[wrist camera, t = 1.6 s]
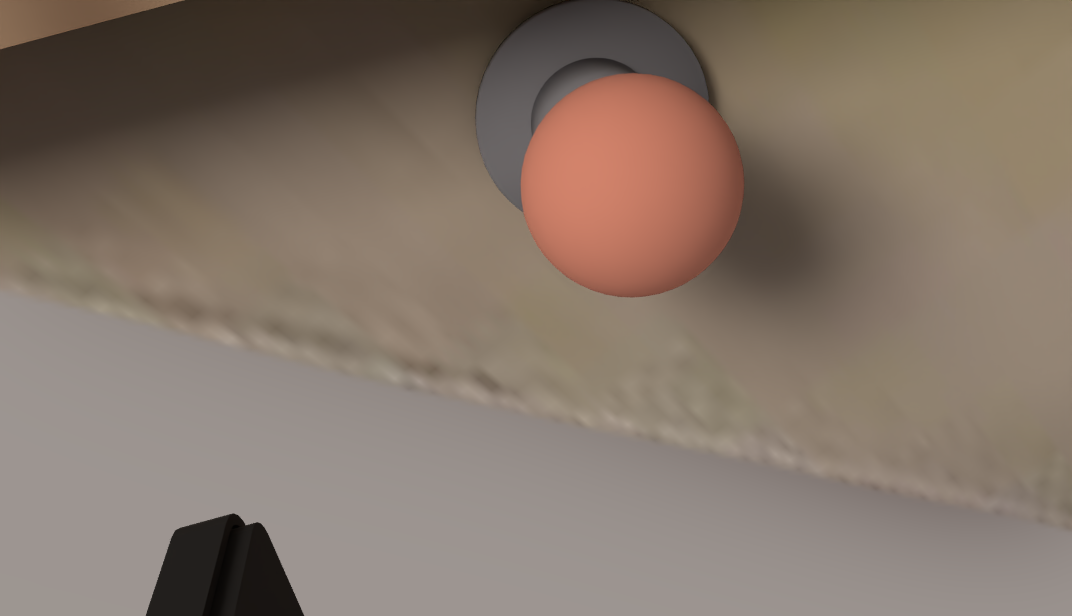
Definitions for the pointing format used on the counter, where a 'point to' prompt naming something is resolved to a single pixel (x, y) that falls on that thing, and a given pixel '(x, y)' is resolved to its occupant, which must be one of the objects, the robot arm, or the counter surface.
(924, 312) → the counter surface
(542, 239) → the ball
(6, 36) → the wooden trough
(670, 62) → the stand
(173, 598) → the robot arm
